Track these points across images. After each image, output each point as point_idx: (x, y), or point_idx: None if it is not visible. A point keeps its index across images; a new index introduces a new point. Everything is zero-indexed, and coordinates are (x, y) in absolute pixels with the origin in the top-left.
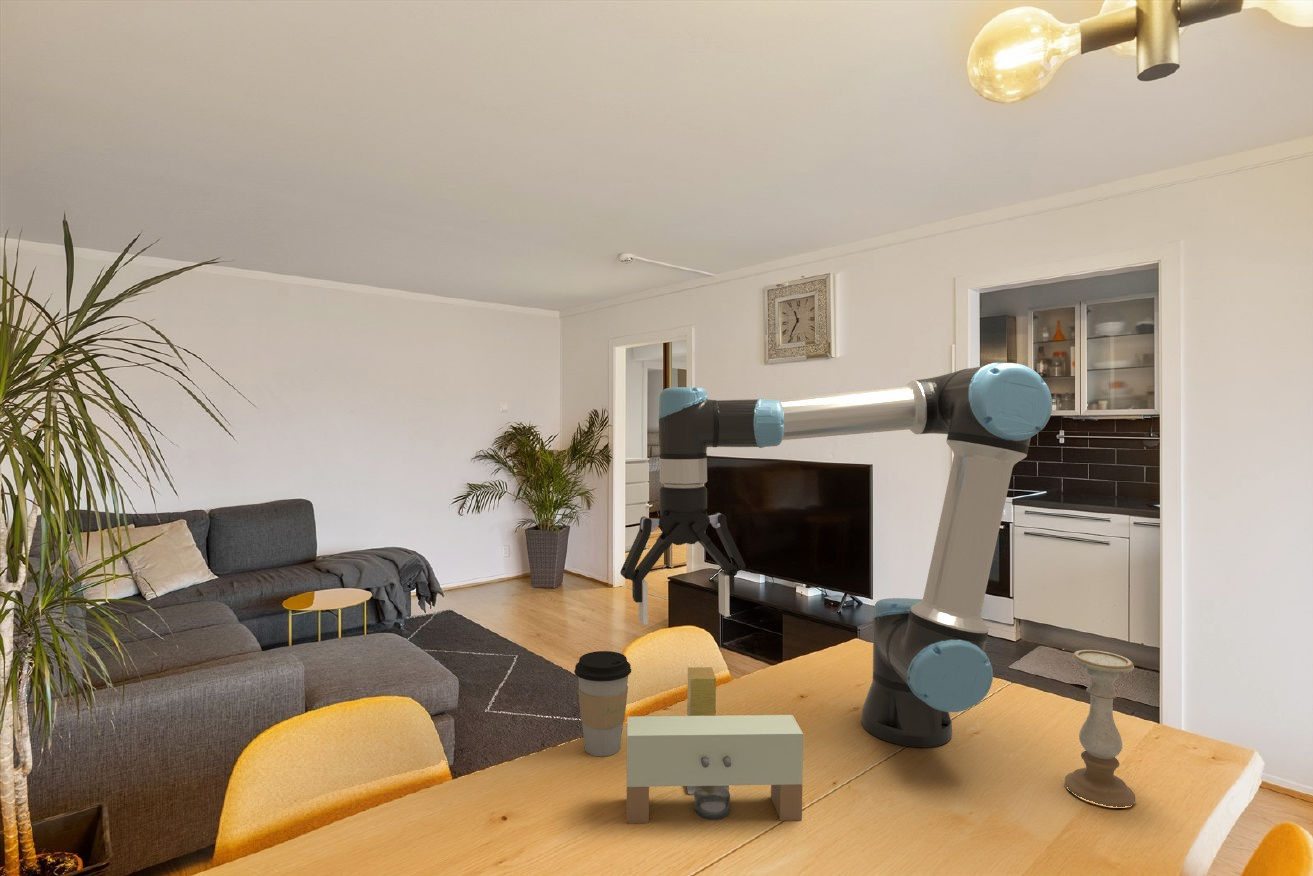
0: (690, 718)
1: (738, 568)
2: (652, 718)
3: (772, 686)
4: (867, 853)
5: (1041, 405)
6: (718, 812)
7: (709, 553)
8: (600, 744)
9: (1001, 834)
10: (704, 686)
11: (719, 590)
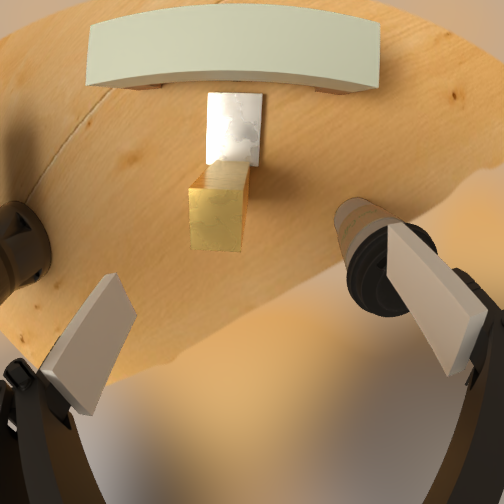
0: (263, 61)
1: (12, 393)
2: (335, 71)
3: (131, 343)
4: (102, 9)
5: None
6: None
7: (94, 494)
8: (366, 201)
9: (8, 65)
10: (215, 184)
11: (109, 361)
